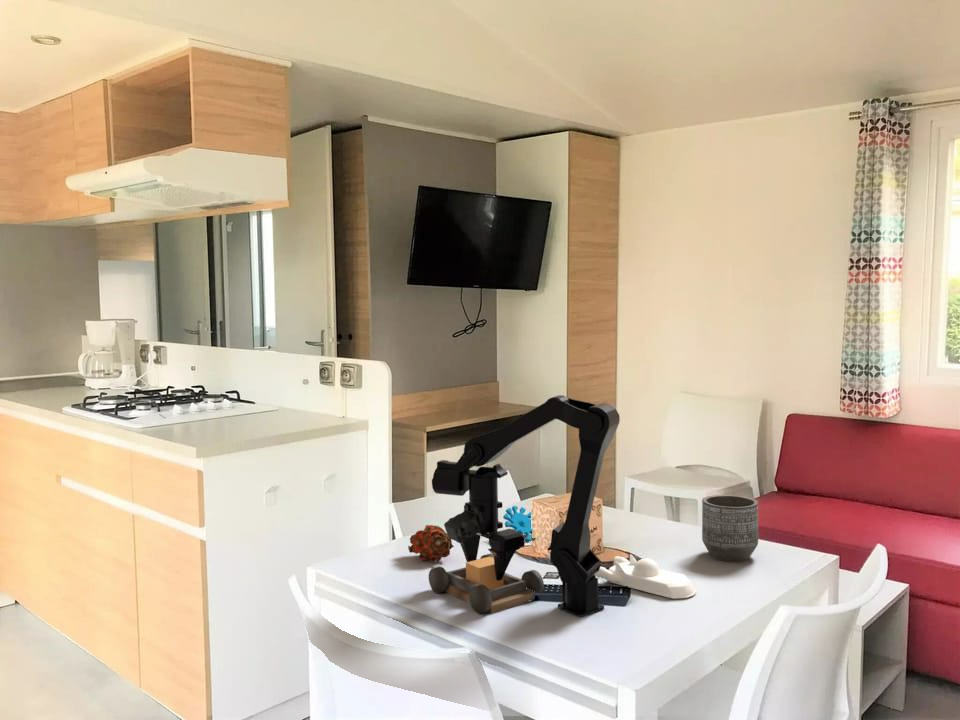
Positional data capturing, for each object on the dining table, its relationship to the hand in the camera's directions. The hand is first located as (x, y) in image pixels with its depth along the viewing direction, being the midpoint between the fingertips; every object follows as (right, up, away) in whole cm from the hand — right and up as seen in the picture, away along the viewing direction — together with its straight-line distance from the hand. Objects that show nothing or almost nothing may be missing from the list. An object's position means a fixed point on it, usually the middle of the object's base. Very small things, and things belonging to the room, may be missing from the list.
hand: (485, 574), depth 162 cm
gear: (+10, -2, +39) cm, 40 cm away
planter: (+56, -2, +21) cm, 60 cm away
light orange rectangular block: (0, -3, 0) cm, 3 cm away
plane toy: (+33, -4, +3) cm, 34 cm away
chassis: (0, -4, 0) cm, 4 cm away
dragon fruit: (-13, -3, +23) cm, 27 cm away
